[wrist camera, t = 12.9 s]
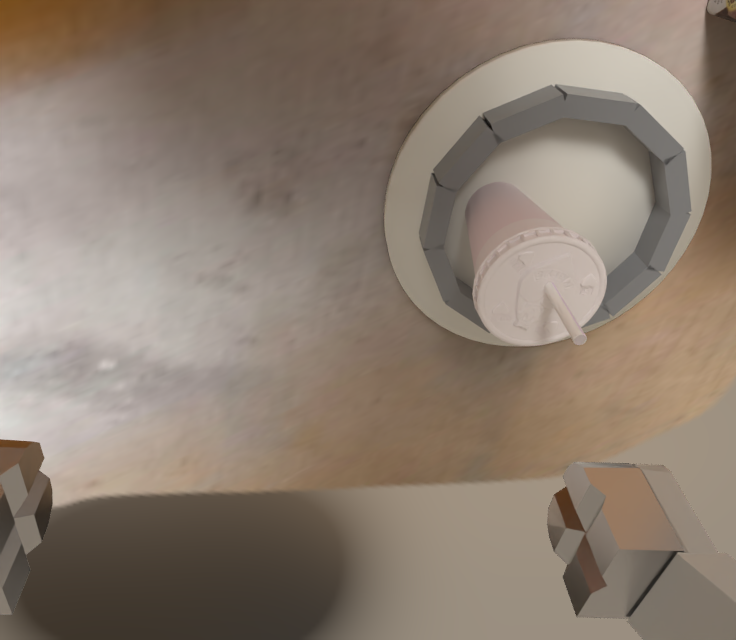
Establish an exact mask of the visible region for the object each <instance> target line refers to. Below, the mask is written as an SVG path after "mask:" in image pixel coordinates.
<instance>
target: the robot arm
mask: <svg viewBox="0 0 736 640" xmlns="http://www.w3.org/2000/svg"><path fill="white" fill-rule="evenodd" d="M43 460H44V456H43V453H42V449H41V446H40V443H37V442H30V441H15V440H0V615H12V614H13V611H14V609H15V607H16V604H17V602H18V599H19V597H20V594H21V592H22V589H23V587H24V585H25V582H26V580H27V577H28V574H29V572H30V567H29V564H28V561H27V558H26V554H27V553H29V552H30V551H31V550H32V549H34V548H35V547H36V546H37V545H39V544H40V543H41V542H42V540H43V537H44V535H45V532H46V529H47V527H48V524H49V519H50V514H51V509H52V504H53V503H52V487H51V482H50V478H48V477H47V476H46V475H44V474H43V473H42V472H41V471H39V469H40V467H41V465H42V462H43ZM563 479H564V481H565V484H566V487H565V488H563V489H562V490H560V491H559V492H557V493H556V494H554V496H553V498H552V501H551V503H550V505H549V508H548V521H547V525H548V532H549V538H550V541H551V544H552V547H553V550H554V552H555V553H556V554H557V555H558V556H559V557H560V558H561V559H562V560H563V561H564V562H565V563H566V564H567V567H566V570H565V572H564V575H563V579H564V582H565V585H566V588H567V590H568V594H569V596H570V599H571V602H572V605H573V608H574V611H575V614H576V616H577V617H591V618H621V619H622V618H623V619H628V621H627V622H628V623H629V624H630V625H631V627H632V628H633V629H634V630H635V631H636V632H637V633H638V634H639V636H640V637H642V639H643V640H736V560H735V559H734V558H732V557H731V556H730V555H728V554H724V553H718V551H717V550H716V548H715V546H714V544H713V543H712V541H711V539H710V538H709V536H708V534H707V533H706V531H705V529H704V528H703V526H702V524H701V522H700V521H699V519H698V517H697V516H696V514H695V512H694V510H693V509H692V507H691V505H690V503H689V502H688V500H687V499H686V497H685V495H684V493H683V492H682V490H681V488H680V487H679V485H678V483H677V481H676V480H675V478H674V476H673V475H672V473H671V471H670V470H669V469H667V468H666V467H665V466H664V465H648V464H629V463H596V462H574V463H572V464H571V465H569V466H568V467H567V469H566V471H565V473H564V475H563Z"/></svg>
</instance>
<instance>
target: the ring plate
mask: <svg viewBox="0 0 736 640" xmlns="http://www.w3.org/2000/svg"><path fill="white" fill-rule="evenodd" d="M710 181H711V149H710V143H709V136H708V132H707V129H706V126H705V123H704V120H703V117H702V115H701V113H700V111H699V109H698V107H697V105H696V103H695V102H694V100H693V98H692V97H691V95H690V94H689V93H688V92H687V90H686V89H685V88H684V86H683V85H682V84H681V83H680V82H679V81H678V80H677V79H676V78H675V77H674V76H673V75H672V74H670V73H669V72H668V71H667V70H666V69H665V68H663V67H662V66H660V65H658V64H657V63H655V62H654V61H652V60H650V59H649V58H647V57H645V56H643V55H641V54H639V53H637V52H634V51H632V50H630V49H627V48H625V47H622V46H620V45H616V44H612V43H607V42H603V41H599V40H589V39H575V38H572V39H558V40H548V41H543V42H538V43H533V44H529V45H525V46H522V47H519V48H516V49H513V50H510V51H508V52H505V53H502V54H500V55H498V56H496V57H494V58H492V59H490V60H488V61H486V62H484V63H482V64H480V65H478V66H477V67H475V68H474V69H472V70H471V71H469V72H468V73H466V74H465V75H463V76H462V77H460V78H459V79H457V80H456V81H455V82H454V83H453V84H452V85H450V86H449V87H448V88H447V89H446V90H445V91H443V92H442V93H441V94H440V95H439V96H438V97H437V98H436V99H435V100H434V101H433V103H432V104H431V105H430V106H429V107H428V108H427V109H426V110H425V111H424V112H423V114H422V115H421V116H420V118H419V119H418V121H417V122H416V123H415V125H414V126H413V128H412V129H411V130H410V132H409V134H408V135H407V137H406V139H405V141H404V143H403V145H402V146H401V148H400V150H399V152H398V155H397V157H396V160H395V162H394V165H393V168H392V170H391V173H390V177H389V181H388V185H387V189H386V195H385V205H384V231H385V237H386V242H387V247H388V253H389V258H390V260H391V263H392V266H393V269H394V272H395V274H396V276H397V278H398V280H399V282H400V284H401V286H402V288H403V289H404V291H405V292H406V294H407V295H408V296H409V298H410V299H411V300H412V302H413V303H414V304H415V305H416V306H417V307H418V308H419V309H420V310H421V311H422V312H423V313H424V314H425V315H426V316H428V317H429V318H430V319H432V320H433V321H434V322H436V323H437V324H438V325H440V326H442V327H443V328H445V329H447V330H449V331H451V332H453V333H455V334H457V335H460V336H462V337H465V338H467V339H470V340H474V341H478V342H482V343H486V344H492V345H500V346H519V345H514V344H510V343H507V342H505V341H502V340H500V339H499V338H497V337H495V336H494V335H493V334H492V333H490V331H489V330H488V329H487V328H486V327H485V326H484V324H483V322H482V320H481V318H480V316H479V315H478V313H477V311H476V309H475V306H474V301H473V296H472V292H473V284H474V279H475V271H474V265H473V259H472V254H471V248H470V242H469V236H468V230H467V224H466V218H465V210H466V206H467V203H468V201H469V199H470V198H471V196H472V195H473V194H474V193H475V192H476V191H477V190H478V189H479V188H481V187H483V186H484V185H487V184H490V183H493V182H506V183H509V184H512V185H514V186H515V187H517V188H518V189H519V190H520V191H521V192H522V193H524V194H525V195H526V196H527V197H528V198H530V199H531V200H532V201H533V202H534V203H535V204H537V205H538V206H539V207H540V208H541V209H542V210H544V211H545V212H546V213H547V214H548V215H549V216H551V217H552V218H553V219H554V220H555V221H556V222H558V223H559V224H560V225H561V226H562V227H564V228H565V229H569V230H573V231H575V232H576V233H578V234H580V235H582V236H583V237H585V238H587V240H588V241H589V242H590V243H591V244H592V245H593V246H594V248H595V249H596V251H597V253H598V255H599V256H600V257H601V259H602V261H603V263H604V266H605V269H606V274H607V286H606V291H605V295H604V298H603V300H602V302H601V304H600V306H599V308H598V310H597V311H596V313H595V314H594V315H593V316H592V318H591V319H590V320H589V321H588V322H587V323H586V324H585V325H584V326H582V327H581V329H582V330H583V332H584V333H586V332H589V331H591V330H594V329H596V328H598V327H600V326H602V325H604V324H606V323H608V322H610V321H612V320H613V319H615V318H617V317H618V316H620V315H621V314H623V313H624V312H626V311H628V310H629V309H631V308H632V307H633V306H634V305H636V304H637V303H638V302H640V301H641V300H642V299H643V298H645V297H646V296H647V295H648V294H649V293H650V292H651V291H652V290H653V289H654V288H655V287H656V286H658V285H659V284H660V283H661V281H662V280H663V279H664V278H665V277H666V276H667V275H668V273H669V272H670V271H671V270H672V269H673V268H674V266H675V265H676V263H677V262H678V261H679V259H680V258H681V256H682V255H683V254H684V252H685V251H686V249H687V247H688V245H689V243H690V242H691V240H692V238H693V236H694V234H695V233H696V230H697V228H698V225H699V223H700V221H701V218H702V216H703V213H704V209H705V206H706V202H707V198H708V195H709V188H710ZM569 338H571V337H570V335H569V336H567V337H565V338H563V339H561V340H559V341H562V340H566V339H569ZM559 341H556V342H559Z"/></svg>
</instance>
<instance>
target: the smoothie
mask: <svg viewBox="0 0 736 640" xmlns="http://www.w3.org/2000/svg"><path fill="white" fill-rule="evenodd" d="M465 218H466V224H467V230H468V236H469V242H470V248H471V254H472V259H473V265H474V271H475V279H474V284H473V292H472V296H473V301H474V306H475V309H476V311H477V313H478V315H479V316H480V318H481V320H482V322H483V324H484V326H485V327H486V328H487V329H488V330H489V331H490V333H492V334H493V335H494V336H495V337H497V338H499V339H500V340H502V341H505V342H507V343H510V344H514V345H519V346H539V345H545V344H550V343H553V342H556V341H559V340H561V339H563V338H565V337H567V336H569V335H570V337H571V338H572V340H573V342H574V343H575V344H576V345H582V344H584V343H585V342H586V340H587V337H586V335H585V334H584V332H583V330H582V329H581V327H582V326H584V325H585V324H586V323H587V322H588V321H589V320H590V319H591V318H592V316H593V315H594V314H595V313H596V311H597V310H598V308H599V306H600V304H601V302H602V300H603V298H604V295H605V291H606V286H607V274H606V269H605V266H604V263H603V261H602V259H601V257H600V256H599V255H598V253H597V251H596V249H595V248H594V246H593V245H592V244H591V243H590V242H589V241H588V240H587V238H585V237H583V236H582V235H580V234H578V233H576V232H575V231H573V230H569V229H565V228H564V227H562V226H561V225H560V224H559V223H558V222H556V221H555V220H554V219H553V218H552V217H551V216H549V215H548V214H547V213H546V212H545V211H544V210H542V209H541V208H540V207H539V206H538V205H537V204H535V203H534V202H533V201H532V200H531V199H530V198H528V197H527V196H526V195H525V194H524V193H522V192H521V191H520V190H519V189H518V188H517V187H515V186H514V185H512V184H509V183H506V182H493V183H490V184H487V185H484V186H483V187H481V188H479V189H478V190H477V191H476V192H475V193H474V194H473V195H472V196H471V198H470V199H469V201H468V203H467V206H466V210H465Z"/></svg>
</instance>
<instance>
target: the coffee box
mask: <svg viewBox="0 0 736 640" xmlns="http://www.w3.org/2000/svg"><path fill="white" fill-rule="evenodd" d="M707 11H708V13H710V14H712V15H715V16H718V17H721V18H724V19H727V20H730V21H733V22H736V0H709V2H708V6H707Z"/></svg>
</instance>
